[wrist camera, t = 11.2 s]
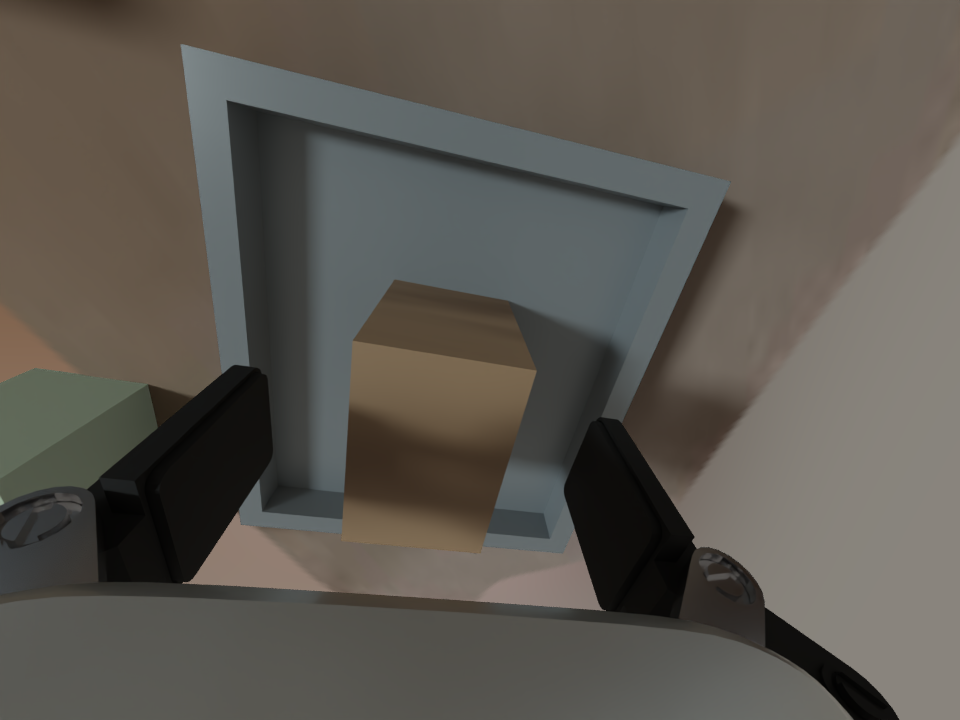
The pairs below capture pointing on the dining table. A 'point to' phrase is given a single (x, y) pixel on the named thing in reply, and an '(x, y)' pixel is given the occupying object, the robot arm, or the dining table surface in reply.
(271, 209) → the tray
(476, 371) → the walnut brick
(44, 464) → the sage brick
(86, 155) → the dining table surface
